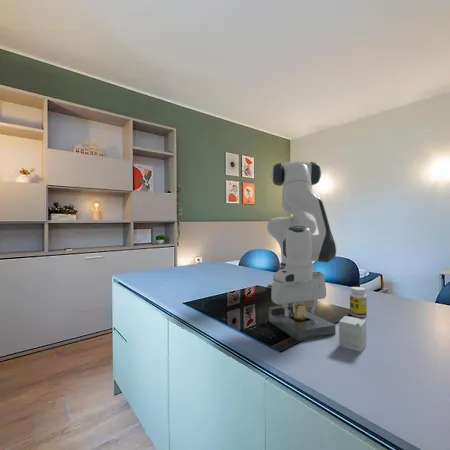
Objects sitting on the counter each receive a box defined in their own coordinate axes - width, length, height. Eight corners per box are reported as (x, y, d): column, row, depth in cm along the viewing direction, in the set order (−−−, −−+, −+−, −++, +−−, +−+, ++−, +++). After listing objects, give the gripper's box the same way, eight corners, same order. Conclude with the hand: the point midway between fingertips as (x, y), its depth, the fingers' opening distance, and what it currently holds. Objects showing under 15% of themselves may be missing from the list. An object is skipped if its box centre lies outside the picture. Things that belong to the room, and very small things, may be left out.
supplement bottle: (346, 313, 105) (346, 287, 105) (357, 311, 107) (357, 285, 107) (358, 318, 99) (358, 290, 99) (370, 316, 101) (370, 289, 101)
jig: (269, 321, 98) (268, 307, 98) (301, 316, 102) (301, 303, 102) (298, 341, 81) (298, 325, 81) (335, 334, 85) (335, 318, 85)
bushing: (298, 330, 89) (298, 306, 89) (290, 326, 93) (290, 303, 93) (309, 328, 90) (309, 305, 90) (301, 324, 94) (301, 301, 94)
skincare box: (344, 339, 82) (344, 315, 82) (366, 344, 78) (366, 319, 78) (338, 346, 77) (338, 321, 77) (361, 352, 73) (361, 325, 73)
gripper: (318, 269, 98) (318, 307, 98) (268, 274, 91) (269, 314, 91) (330, 272, 92) (330, 312, 92) (278, 277, 85) (279, 321, 85)
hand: (299, 313), depth 92 cm, fingers open, 8 cm apart
